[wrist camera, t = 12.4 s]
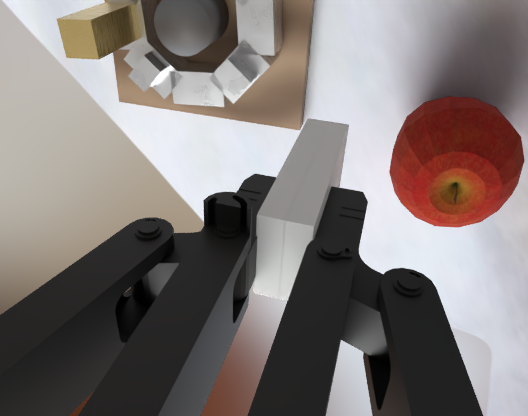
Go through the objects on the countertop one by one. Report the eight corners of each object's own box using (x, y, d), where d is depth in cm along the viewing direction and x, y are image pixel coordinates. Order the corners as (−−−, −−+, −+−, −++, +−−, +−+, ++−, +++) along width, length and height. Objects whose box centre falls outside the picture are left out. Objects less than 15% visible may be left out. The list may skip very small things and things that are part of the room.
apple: (437, 193, 50) (440, 280, 38) (371, 123, 48) (354, 194, 36) (534, 131, 44) (570, 213, 33) (464, 49, 42) (477, 107, 31)
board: (100, -121, 43) (54, -123, 37) (324, -109, 39) (308, -109, 33) (126, 96, 54) (93, 119, 49) (302, 124, 50) (287, 151, 44)
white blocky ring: (280, -84, 39) (242, -78, 31) (283, 99, 47) (253, 142, 39) (108, -79, 43) (34, -72, 35) (138, 90, 51) (84, 127, 43)
